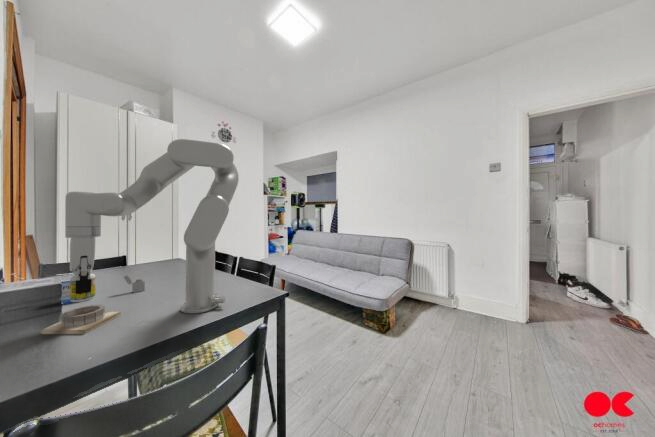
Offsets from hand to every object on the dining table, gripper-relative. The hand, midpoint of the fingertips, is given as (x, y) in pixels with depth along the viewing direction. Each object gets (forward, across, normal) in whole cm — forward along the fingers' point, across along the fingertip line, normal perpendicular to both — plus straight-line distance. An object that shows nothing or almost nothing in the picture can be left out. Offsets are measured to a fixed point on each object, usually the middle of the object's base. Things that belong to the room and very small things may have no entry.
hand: (83, 289), depth 71 cm
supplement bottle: (+3, 0, 0) cm, 3 cm away
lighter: (+11, -25, +16) cm, 32 cm away
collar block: (+11, 0, 0) cm, 11 cm away
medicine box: (+11, -28, -1) cm, 30 cm away
